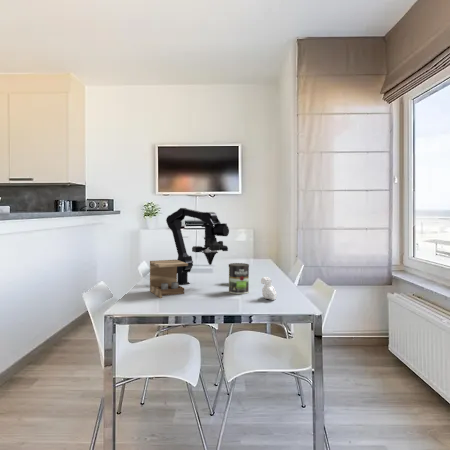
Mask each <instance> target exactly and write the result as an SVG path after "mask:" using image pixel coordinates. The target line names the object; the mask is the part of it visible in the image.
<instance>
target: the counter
mask: <svg viewBox="0 0 450 450" xmlns="http://www.w3.org/2000/svg"><path fill="white" fill-rule="evenodd" d="M177 266H188V263H185V262H182V261H179V260H177V259H163V260H162V259H161V260H149V292H150V293H152V294H153V295H155V296H156V297H158V298H159V299H163V298H162V297H163V296H162V291H160V290H159V289H157V288H156V287H161V283H168V286H171V283H172V282H177Z"/></svg>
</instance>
